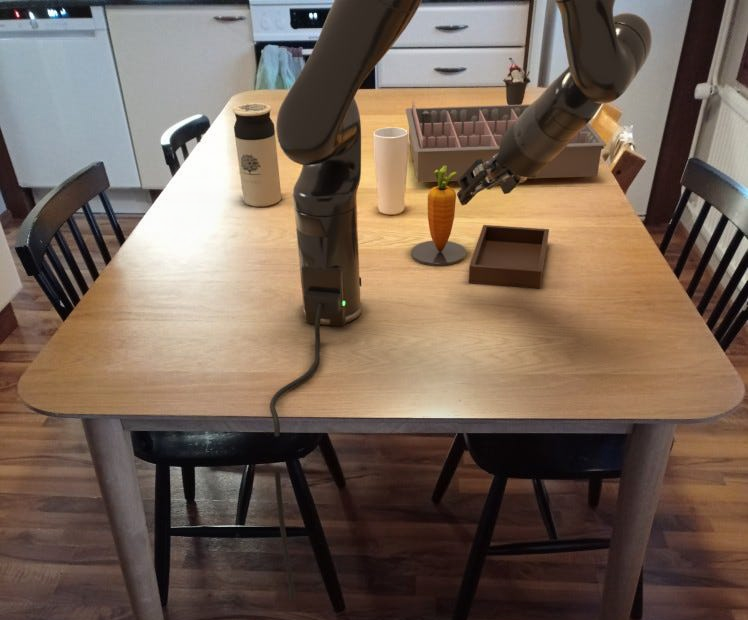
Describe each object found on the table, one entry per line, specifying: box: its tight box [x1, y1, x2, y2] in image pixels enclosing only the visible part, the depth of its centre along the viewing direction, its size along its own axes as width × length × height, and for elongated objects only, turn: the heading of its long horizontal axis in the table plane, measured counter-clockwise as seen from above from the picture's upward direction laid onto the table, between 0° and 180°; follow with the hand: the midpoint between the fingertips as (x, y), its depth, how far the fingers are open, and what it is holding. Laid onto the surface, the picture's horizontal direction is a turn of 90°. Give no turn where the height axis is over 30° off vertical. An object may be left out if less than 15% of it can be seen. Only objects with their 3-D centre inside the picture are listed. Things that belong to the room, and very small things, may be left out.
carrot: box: [427, 166, 457, 252], centre depth 136 cm, size 5×5×15 cm
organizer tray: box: [405, 100, 607, 183], centre depth 175 cm, size 32×40×10 cm
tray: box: [468, 224, 550, 289], centre depth 137 cm, size 18×12×3 cm, turn 167°
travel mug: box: [232, 102, 282, 208], centre depth 158 cm, size 8×8×18 cm
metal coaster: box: [410, 240, 467, 267], centre depth 141 cm, size 10×10×1 cm
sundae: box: [502, 57, 531, 105], centre depth 196 cm, size 7×7×15 cm
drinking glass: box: [372, 126, 409, 216], centre depth 153 cm, size 7×7×15 cm
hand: (482, 194), depth 124 cm, fingers open, 8 cm apart
